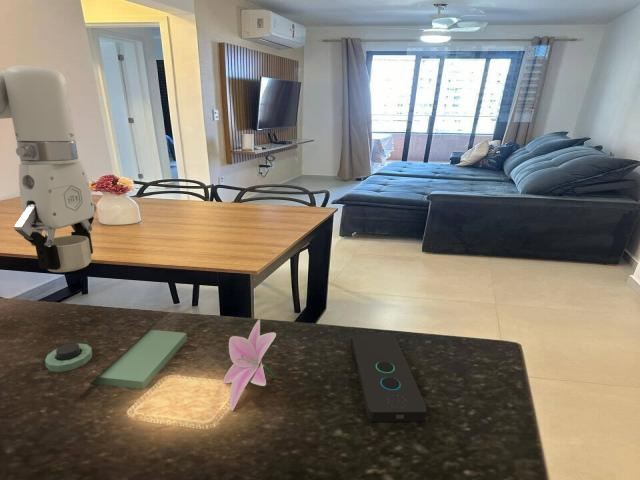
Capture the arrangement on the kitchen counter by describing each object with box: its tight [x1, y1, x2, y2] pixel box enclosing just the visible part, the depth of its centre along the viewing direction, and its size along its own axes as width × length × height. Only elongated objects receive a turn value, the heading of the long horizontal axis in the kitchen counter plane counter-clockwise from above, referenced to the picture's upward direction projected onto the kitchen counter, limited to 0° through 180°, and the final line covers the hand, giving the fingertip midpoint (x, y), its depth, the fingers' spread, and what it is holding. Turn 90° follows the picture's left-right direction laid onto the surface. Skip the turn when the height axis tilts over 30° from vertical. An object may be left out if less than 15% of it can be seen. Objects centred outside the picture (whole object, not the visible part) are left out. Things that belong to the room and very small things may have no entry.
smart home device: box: [350, 333, 428, 423], centre depth 60 cm, size 8×2×20 cm
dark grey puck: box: [55, 342, 80, 361], centre depth 59 cm, size 3×3×1 cm
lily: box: [222, 318, 277, 412], centre depth 56 cm, size 12×12×10 cm
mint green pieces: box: [44, 329, 188, 390], centre depth 63 cm, size 16×14×3 cm
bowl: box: [46, 234, 93, 273], centre depth 64 cm, size 7×7×4 cm
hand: (68, 260), depth 64 cm, fingers closed on bowl, 6 cm apart
